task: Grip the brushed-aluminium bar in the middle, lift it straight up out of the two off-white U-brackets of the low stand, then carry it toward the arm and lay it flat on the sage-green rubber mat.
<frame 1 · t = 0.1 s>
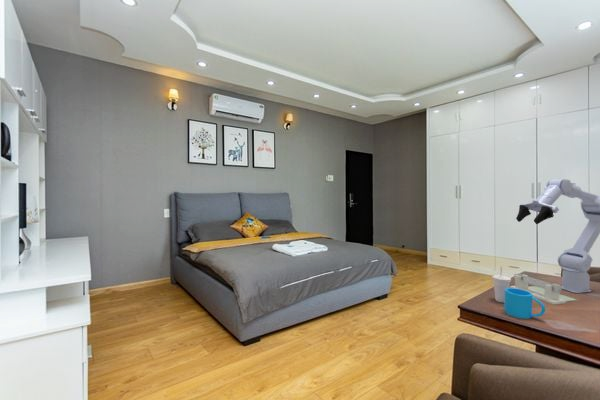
hand: (526, 221, 125), 32 cm above the table, tool tilted 50°, fingers open, 7 cm apart
mug: (523, 316, 107), on the table
mat: (548, 293, 128), on the table
rail: (536, 284, 126), point 4 cm above the table, touching rack
rack: (535, 295, 126), on the table
smoothie: (500, 301, 120), on the table
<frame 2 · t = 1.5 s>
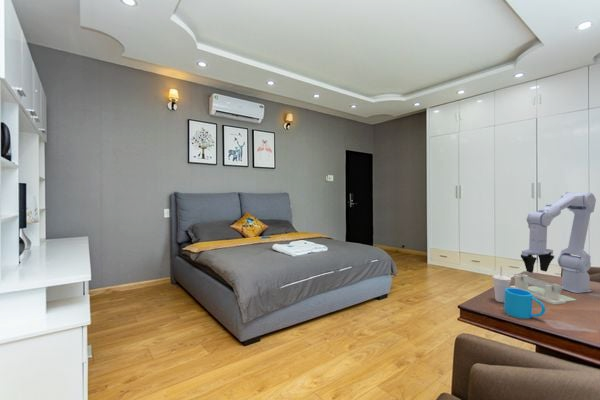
hand: (536, 271, 126), 10 cm above the table, tool pointing down, fingers open, 7 cm apart
nothing on the table moved.
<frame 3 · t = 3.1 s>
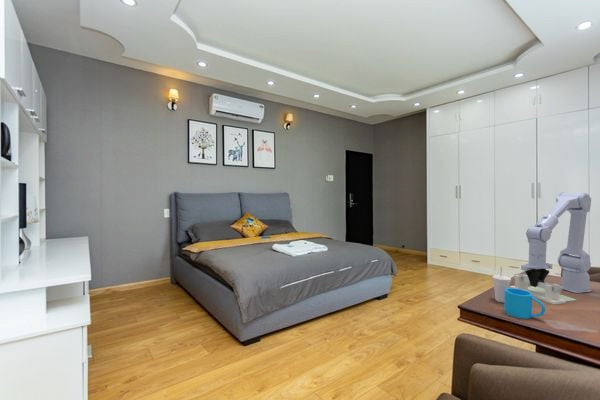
hand: (536, 286, 126), 4 cm above the table, tool pointing down, fingers closed on rail, 2 cm apart
rail: (536, 284, 126), point 4 cm above the table, touching gripper, rack
everything else where it was.
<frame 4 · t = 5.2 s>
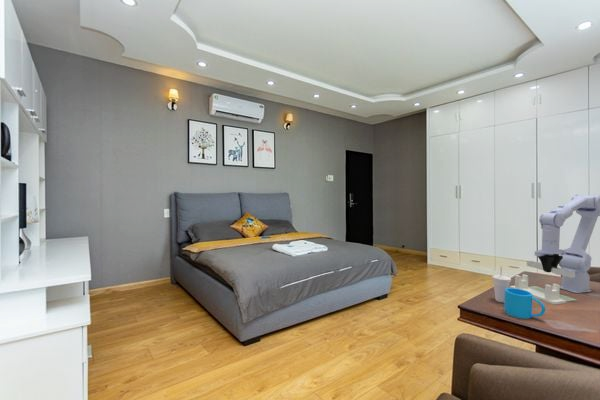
hand: (549, 271, 127), 10 cm above the table, tool pointing down, fingers closed on rail, 2 cm apart
rail: (549, 271, 127), point 10 cm above the table, touching gripper
everything else where it was.
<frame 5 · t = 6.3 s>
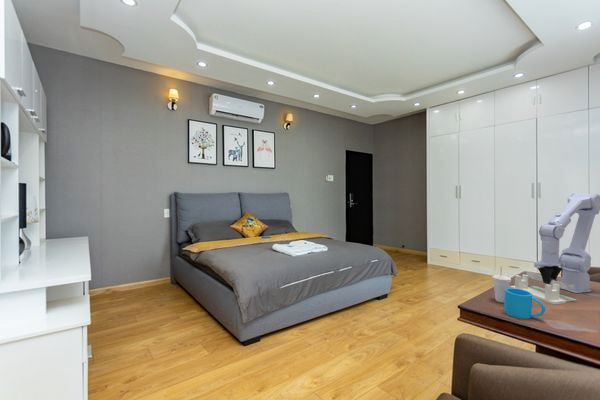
hand: (548, 283, 128), 5 cm above the table, tool pointing down, fingers closed on rail, 2 cm apart
rail: (548, 282, 128), point 5 cm above the table, touching gripper
everything else where it was.
when the fingers open (1 cm above the table, at t = 7.4 s): rail stays where it is, resting on mat.
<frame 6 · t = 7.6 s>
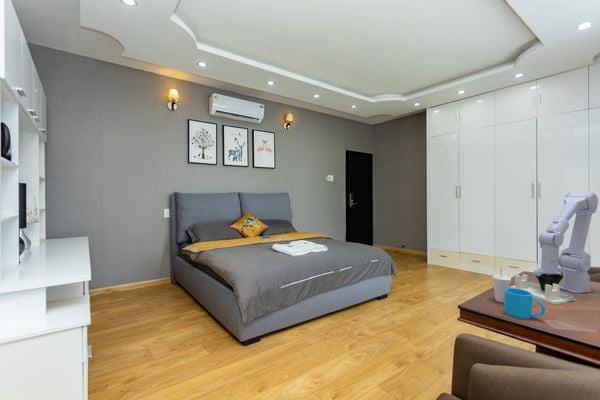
hand: (548, 290, 128), 1 cm above the table, tool pointing down, fingers open, 4 cm apart
rail: (548, 292, 128), resting on mat
everything else where it was.
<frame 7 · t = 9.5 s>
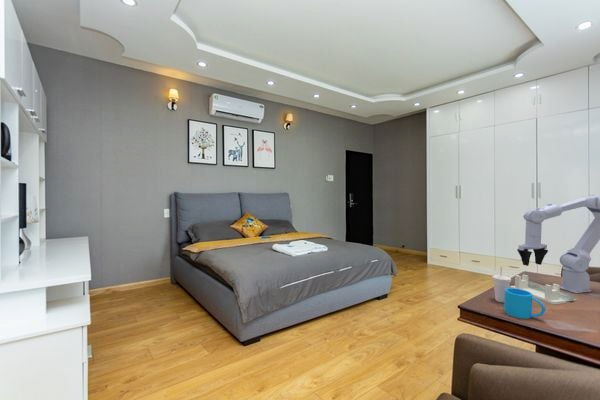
hand: (532, 264, 137), 10 cm above the table, tool pointing down, fingers open, 7 cm apart
nothing on the table moved.
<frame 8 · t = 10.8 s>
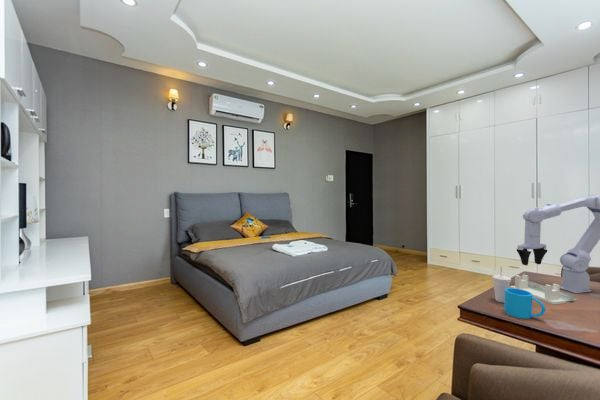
hand: (531, 264, 137), 10 cm above the table, tool pointing down, fingers open, 7 cm apart
nothing on the table moved.
at the end: rail 0.0 cm off-centre on the mat, point 0.4 cm above the mat's base; rail tilted 0°; the gripper is holding nothing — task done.
